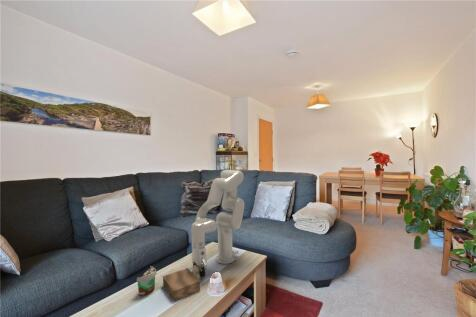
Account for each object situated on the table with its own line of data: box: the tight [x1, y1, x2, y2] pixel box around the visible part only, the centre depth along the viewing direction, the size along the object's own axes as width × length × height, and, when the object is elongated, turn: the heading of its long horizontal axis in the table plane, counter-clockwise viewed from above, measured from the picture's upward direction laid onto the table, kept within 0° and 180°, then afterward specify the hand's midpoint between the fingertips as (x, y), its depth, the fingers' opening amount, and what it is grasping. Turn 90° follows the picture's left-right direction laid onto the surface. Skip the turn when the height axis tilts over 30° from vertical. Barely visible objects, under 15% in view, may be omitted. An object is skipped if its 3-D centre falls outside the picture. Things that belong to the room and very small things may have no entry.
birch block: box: [192, 263, 203, 280], centre depth 132 cm, size 5×5×6 cm
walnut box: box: [162, 267, 201, 302], centre depth 120 cm, size 14×16×5 cm
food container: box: [136, 265, 158, 297], centre depth 118 cm, size 12×6×10 cm, turn 168°
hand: (199, 273), depth 132 cm, fingers open, 8 cm apart
